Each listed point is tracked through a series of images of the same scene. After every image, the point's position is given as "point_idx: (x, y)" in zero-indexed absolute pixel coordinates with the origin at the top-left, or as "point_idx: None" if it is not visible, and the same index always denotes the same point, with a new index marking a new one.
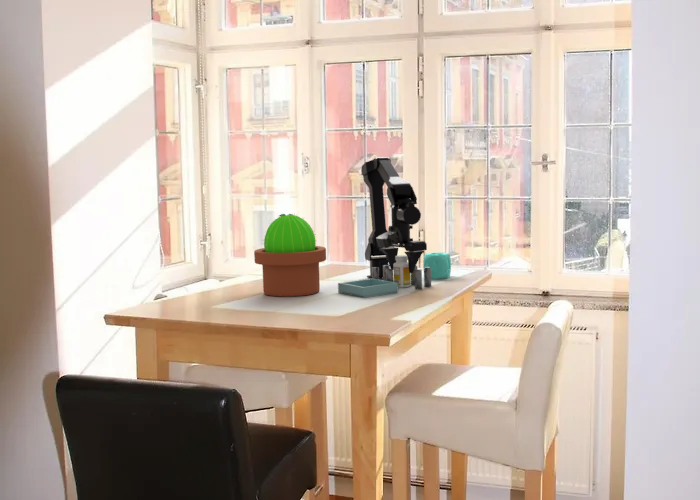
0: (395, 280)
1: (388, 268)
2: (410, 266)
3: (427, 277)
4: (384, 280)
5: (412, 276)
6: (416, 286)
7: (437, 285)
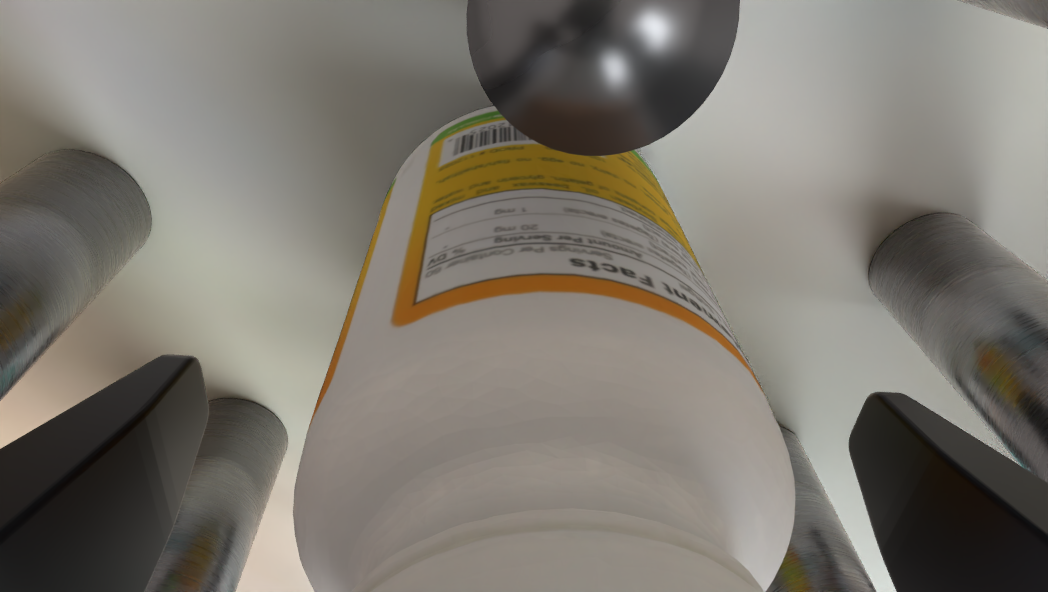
0: None
1: (1038, 440)
2: (1, 450)
3: None
4: (970, 241)
5: None
6: (25, 170)
7: None
